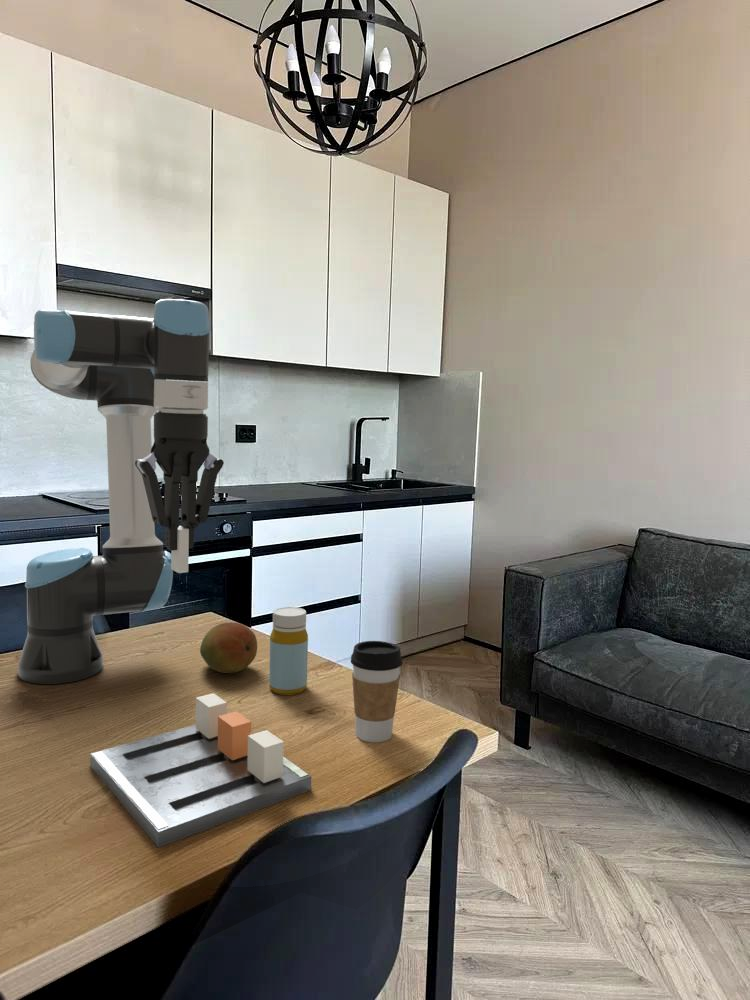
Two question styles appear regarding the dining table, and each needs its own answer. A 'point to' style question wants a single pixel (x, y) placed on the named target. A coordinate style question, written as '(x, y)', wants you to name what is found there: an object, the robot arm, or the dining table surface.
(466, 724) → the dining table surface
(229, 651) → the fruit
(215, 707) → the block
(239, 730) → the block
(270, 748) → the block
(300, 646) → the bottle
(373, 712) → the coffee cup
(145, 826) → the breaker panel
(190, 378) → the robot arm
